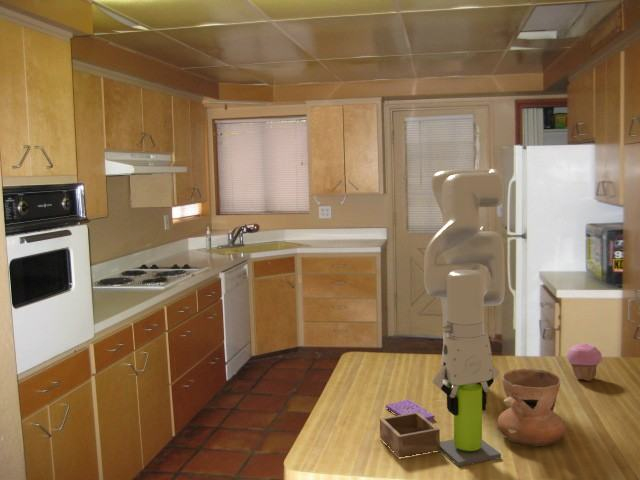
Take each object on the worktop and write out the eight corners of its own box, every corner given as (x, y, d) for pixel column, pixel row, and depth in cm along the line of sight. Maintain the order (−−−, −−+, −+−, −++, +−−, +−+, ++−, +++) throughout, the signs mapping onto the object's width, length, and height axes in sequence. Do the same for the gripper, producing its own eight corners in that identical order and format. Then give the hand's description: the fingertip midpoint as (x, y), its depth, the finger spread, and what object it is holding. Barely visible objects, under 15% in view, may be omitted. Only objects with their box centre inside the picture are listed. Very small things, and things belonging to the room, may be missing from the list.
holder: (380, 439, 150) (379, 418, 149) (418, 432, 153) (417, 411, 152) (399, 459, 140) (398, 437, 139) (440, 451, 143) (439, 429, 142)
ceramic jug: (535, 461, 137) (535, 395, 135) (480, 438, 148) (479, 378, 146) (584, 436, 147) (585, 374, 145) (529, 417, 159) (529, 360, 157)
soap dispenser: (483, 438, 144) (484, 350, 141) (480, 452, 138) (481, 360, 135) (456, 435, 146) (456, 348, 143) (452, 449, 140) (452, 358, 137)
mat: (435, 446, 145) (435, 442, 145) (476, 439, 148) (475, 435, 148) (458, 466, 136) (458, 462, 135) (500, 458, 139) (500, 453, 138)
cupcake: (604, 376, 184) (604, 341, 183) (598, 386, 177) (598, 350, 175) (570, 372, 189) (570, 338, 187) (563, 381, 181) (563, 346, 180)
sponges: (410, 428, 157) (410, 420, 157) (385, 410, 168) (384, 403, 168) (435, 422, 159) (435, 414, 159) (409, 405, 171) (408, 398, 171)
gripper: (437, 338, 132) (438, 424, 135) (511, 328, 137) (512, 410, 140) (420, 329, 139) (422, 410, 142) (491, 320, 144) (492, 398, 147)
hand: (466, 410), depth 141 cm, fingers closed on soap dispenser, 5 cm apart
